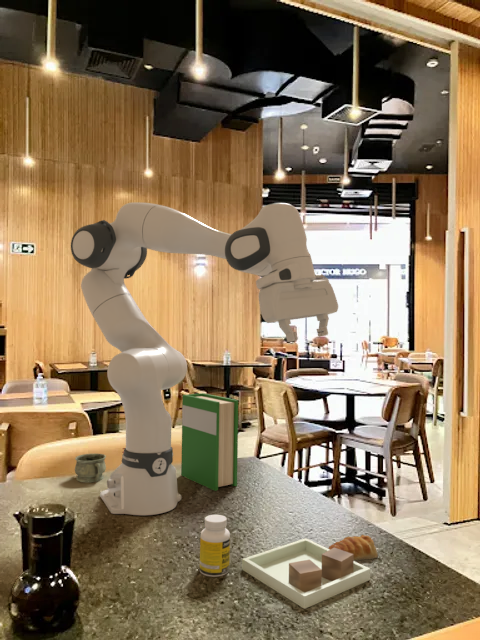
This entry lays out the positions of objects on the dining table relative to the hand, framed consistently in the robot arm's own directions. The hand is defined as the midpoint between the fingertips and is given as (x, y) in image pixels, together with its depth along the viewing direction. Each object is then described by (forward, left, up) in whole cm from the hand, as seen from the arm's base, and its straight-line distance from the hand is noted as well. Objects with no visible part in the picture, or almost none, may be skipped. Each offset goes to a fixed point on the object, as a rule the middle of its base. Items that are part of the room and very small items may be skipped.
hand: (308, 338), depth 109 cm
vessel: (-67, -21, -43) cm, 82 cm away
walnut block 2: (+16, -8, -42) cm, 45 cm away
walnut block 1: (+16, -16, -42) cm, 47 cm away
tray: (+12, -12, -42) cm, 46 cm away
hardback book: (-46, +6, -43) cm, 63 cm away
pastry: (+11, +2, -43) cm, 44 cm away
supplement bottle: (+1, -24, -43) cm, 49 cm away
